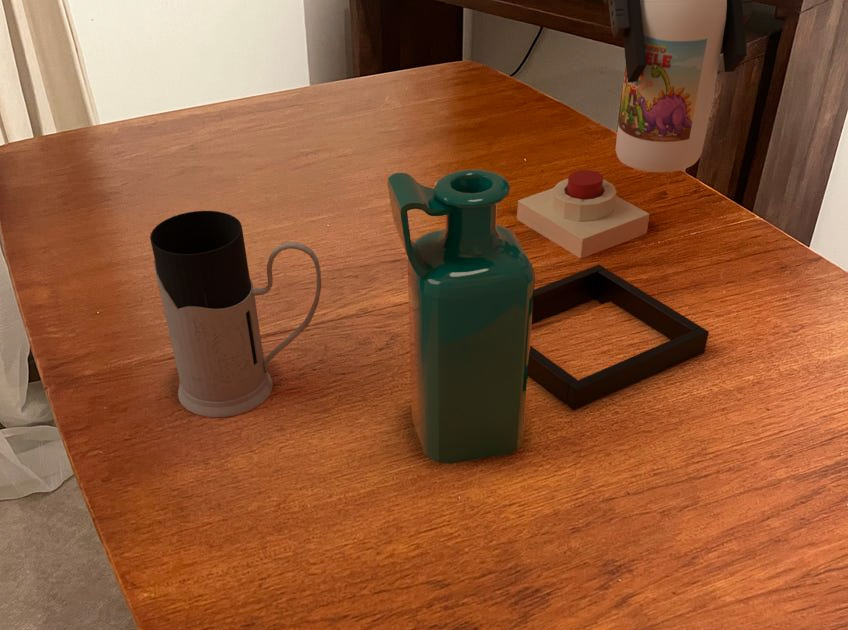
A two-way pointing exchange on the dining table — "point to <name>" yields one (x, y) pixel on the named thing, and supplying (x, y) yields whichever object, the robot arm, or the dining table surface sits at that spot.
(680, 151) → the milk bottle
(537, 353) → the black square frame
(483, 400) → the pitcher
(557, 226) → the control box
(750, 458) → the dining table surface
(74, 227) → the dining table surface
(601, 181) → the stop button
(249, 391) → the glass holder
